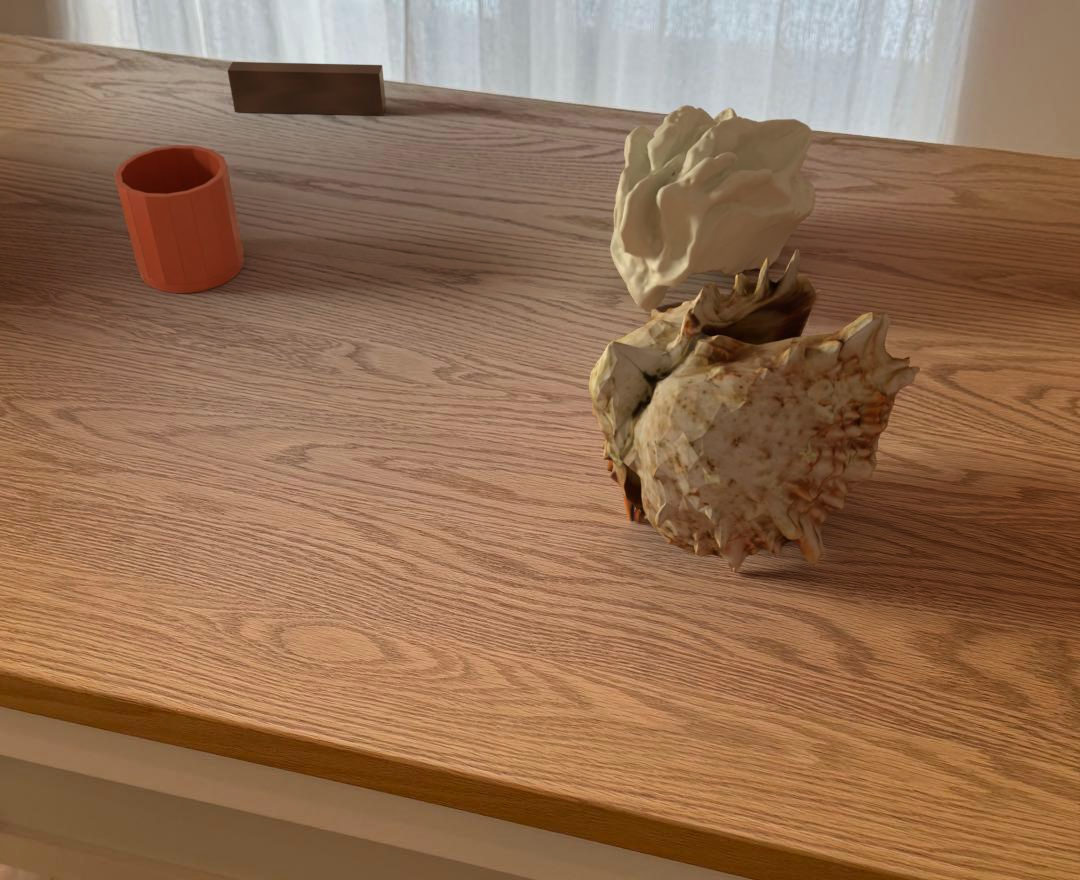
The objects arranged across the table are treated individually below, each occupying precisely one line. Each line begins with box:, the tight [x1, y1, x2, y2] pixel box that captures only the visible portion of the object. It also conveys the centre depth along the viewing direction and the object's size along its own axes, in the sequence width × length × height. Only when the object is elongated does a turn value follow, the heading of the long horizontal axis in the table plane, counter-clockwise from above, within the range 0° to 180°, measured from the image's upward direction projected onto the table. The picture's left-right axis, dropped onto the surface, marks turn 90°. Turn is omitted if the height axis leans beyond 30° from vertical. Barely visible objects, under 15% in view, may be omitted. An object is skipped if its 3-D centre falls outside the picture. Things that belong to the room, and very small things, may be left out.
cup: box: [113, 144, 245, 294], centre depth 94 cm, size 8×8×8 cm
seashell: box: [588, 248, 921, 573], centre depth 70 cm, size 18×18×15 cm
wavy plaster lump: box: [609, 104, 817, 312], centre depth 92 cm, size 18×13×16 cm
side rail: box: [227, 61, 387, 116], centre depth 115 cm, size 14×2×4 cm, turn 87°
